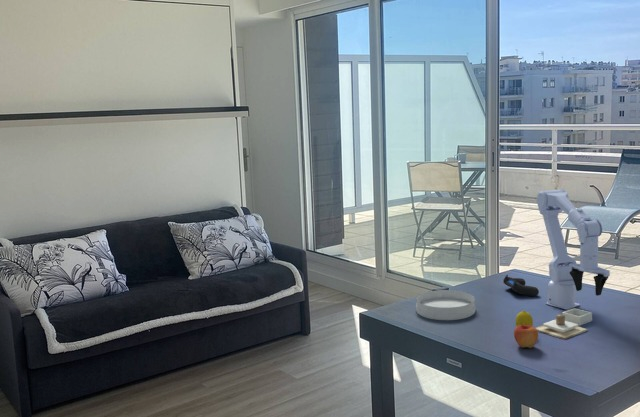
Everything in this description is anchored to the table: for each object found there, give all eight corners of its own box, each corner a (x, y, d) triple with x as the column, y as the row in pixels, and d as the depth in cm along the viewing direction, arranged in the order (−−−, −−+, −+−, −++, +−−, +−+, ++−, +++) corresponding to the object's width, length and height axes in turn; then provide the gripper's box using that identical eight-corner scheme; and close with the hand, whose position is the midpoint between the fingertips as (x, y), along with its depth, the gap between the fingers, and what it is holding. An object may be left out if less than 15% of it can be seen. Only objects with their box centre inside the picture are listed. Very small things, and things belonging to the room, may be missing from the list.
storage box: (562, 320, 226) (562, 312, 225) (574, 316, 230) (574, 308, 229) (579, 325, 220) (579, 317, 219) (592, 320, 224) (592, 312, 223)
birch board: (534, 329, 218) (534, 328, 218) (556, 321, 225) (556, 320, 225) (564, 339, 208) (564, 337, 208) (587, 330, 215) (587, 329, 215)
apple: (540, 351, 200) (539, 327, 199) (515, 351, 201) (515, 326, 200) (536, 342, 207) (536, 319, 206) (512, 342, 208) (512, 319, 207)
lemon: (524, 337, 212) (524, 314, 211) (512, 332, 217) (511, 310, 216) (536, 334, 214) (536, 311, 213) (524, 329, 219) (524, 307, 218)
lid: (542, 328, 218) (542, 315, 217) (557, 322, 222) (557, 310, 221) (563, 334, 211) (563, 321, 210) (578, 328, 215) (578, 315, 215)
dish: (451, 325, 228) (450, 311, 227) (404, 312, 245) (403, 299, 244) (487, 309, 242) (487, 297, 242) (440, 298, 259) (440, 286, 258)
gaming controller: (518, 291, 270) (498, 281, 268) (525, 279, 269) (505, 269, 268) (534, 303, 253) (513, 292, 252) (542, 290, 253) (521, 279, 251)
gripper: (563, 253, 227) (563, 290, 229) (601, 260, 215) (600, 299, 217) (576, 250, 231) (575, 286, 233) (613, 256, 219) (612, 295, 221)
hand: (588, 292), depth 225 cm, fingers open, 7 cm apart
